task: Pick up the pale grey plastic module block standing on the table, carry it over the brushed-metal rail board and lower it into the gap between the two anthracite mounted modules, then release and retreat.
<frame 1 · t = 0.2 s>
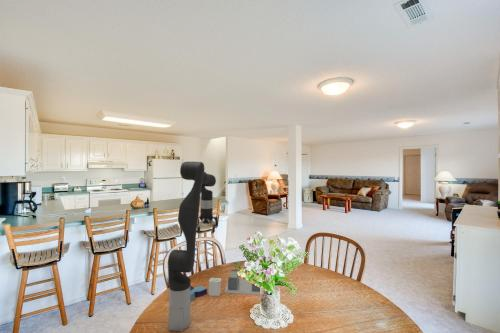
hand: (206, 233, 154), 29 cm above the table, fingers open, 8 cm apart
pistol: (189, 294, 137), on the table
rail board: (245, 287, 145), on the table
module: (214, 294, 137), on the table
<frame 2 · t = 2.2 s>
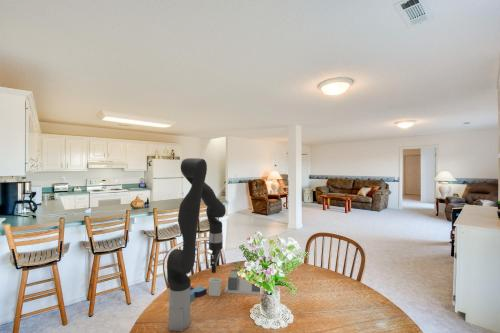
hand: (215, 269, 137), 14 cm above the table, fingers open, 8 cm apart
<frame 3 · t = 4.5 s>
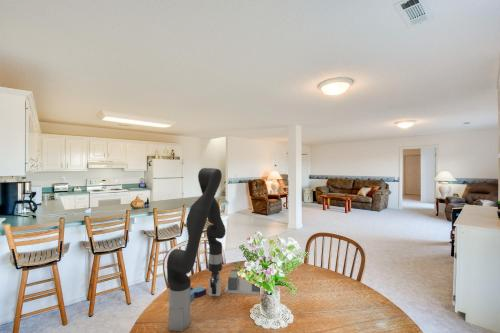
hand: (214, 291, 137), 1 cm above the table, fingers closed on module, 4 cm apart
module: (214, 293, 137), on the table, touching gripper
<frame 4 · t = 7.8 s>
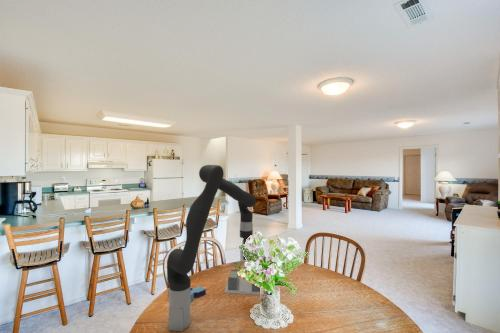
hand: (245, 257, 144), 17 cm above the table, fingers closed on module, 4 cm apart
module: (245, 260, 144), point 16 cm above the table, touching gripper
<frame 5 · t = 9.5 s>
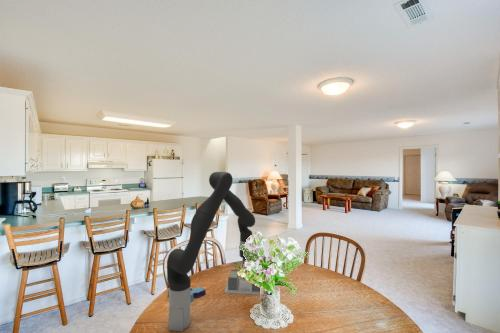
hand: (245, 277, 144), 6 cm above the table, fingers closed on module, 4 cm apart
module: (245, 279, 144), point 5 cm above the table, touching gripper
when the fingers open (4 cm above the table, at t = 11.2 s): module stays where it is, resting on rail board.
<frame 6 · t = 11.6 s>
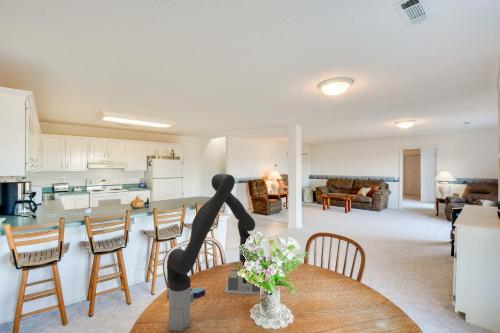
hand: (245, 279, 144), 5 cm above the table, fingers open, 8 cm apart
module: (245, 285, 144), point 1 cm above the table, touching rail board
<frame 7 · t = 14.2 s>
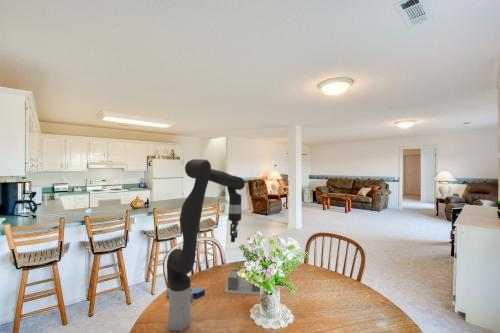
hand: (234, 239, 143), 28 cm above the table, fingers open, 8 cm apart
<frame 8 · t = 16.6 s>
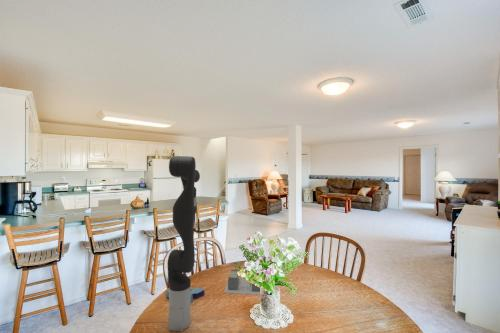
hand: (189, 233, 141), 32 cm above the table, fingers open, 8 cm apart
at the end: module inside the target area on the rail board (0.1 cm from its centre), point 1.5 cm above the rail board's base; module tilted 0°; the gripper is holding nothing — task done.
